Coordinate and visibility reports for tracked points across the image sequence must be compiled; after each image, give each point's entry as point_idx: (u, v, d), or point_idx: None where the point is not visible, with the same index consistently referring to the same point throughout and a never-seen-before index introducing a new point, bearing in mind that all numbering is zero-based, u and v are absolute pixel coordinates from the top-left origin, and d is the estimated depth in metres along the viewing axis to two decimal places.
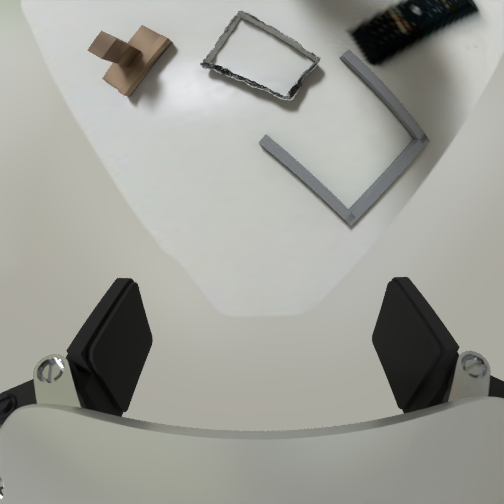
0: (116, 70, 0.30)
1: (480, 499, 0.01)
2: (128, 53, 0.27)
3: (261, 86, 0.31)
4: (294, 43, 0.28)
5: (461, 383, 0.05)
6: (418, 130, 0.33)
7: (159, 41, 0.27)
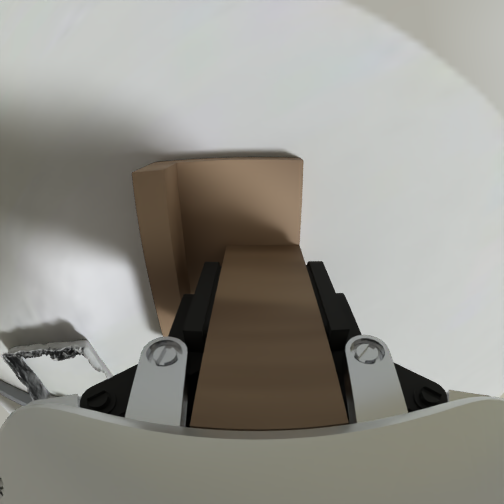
0: (264, 214, 0.11)
1: (480, 499, 0.01)
2: None
3: (18, 355, 0.15)
4: None
5: (360, 375, 0.06)
6: None
7: None
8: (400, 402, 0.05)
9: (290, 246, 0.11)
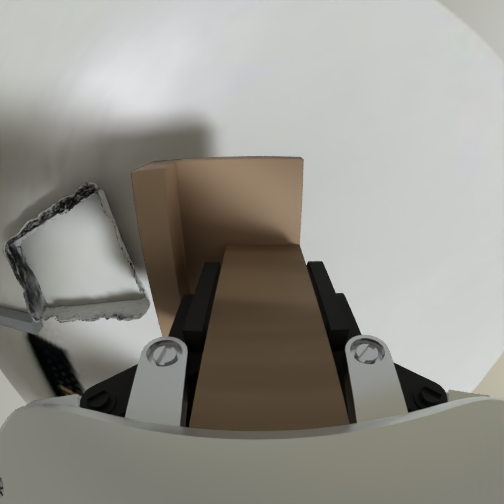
0: (264, 213, 0.11)
1: (480, 499, 0.01)
2: None
3: (24, 233, 0.16)
4: (66, 315, 0.20)
5: (360, 375, 0.06)
6: None
7: None
8: (400, 402, 0.05)
9: (290, 246, 0.11)
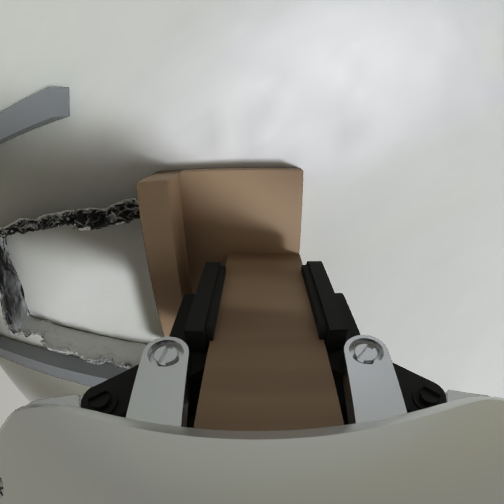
0: (265, 223, 0.11)
1: (480, 499, 0.01)
2: None
3: (12, 231, 0.10)
4: (55, 340, 0.14)
5: (359, 375, 0.06)
6: (1, 354, 0.16)
7: None
8: (399, 402, 0.05)
9: (290, 254, 0.12)
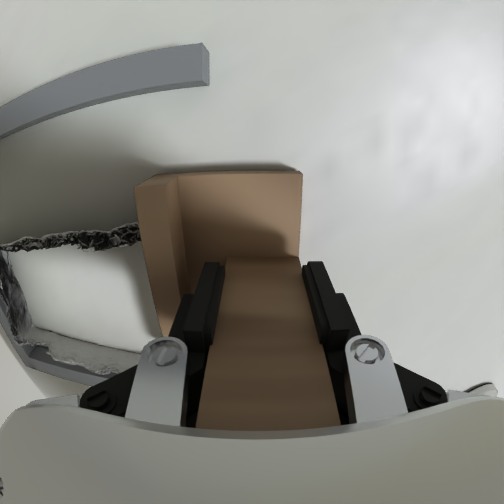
0: (264, 227, 0.11)
1: (480, 499, 0.01)
2: None
3: (16, 248, 0.11)
4: (60, 351, 0.15)
5: (360, 375, 0.06)
6: (41, 367, 0.16)
7: None
8: (400, 402, 0.05)
9: (289, 258, 0.12)
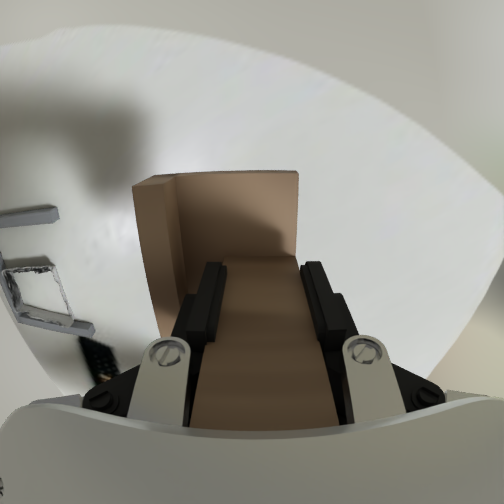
0: (261, 226, 0.11)
1: (480, 499, 0.01)
2: None
3: (15, 271, 0.29)
4: (33, 313, 0.33)
5: (358, 376, 0.06)
6: (24, 321, 0.34)
7: None
8: (397, 402, 0.05)
9: (286, 257, 0.12)
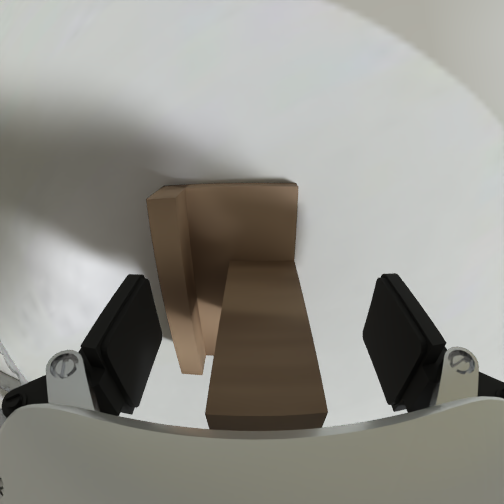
0: (263, 233, 0.12)
1: (480, 499, 0.01)
2: None
3: None
4: None
5: (449, 380, 0.05)
6: None
7: (190, 363, 0.14)
8: None
9: (286, 261, 0.13)
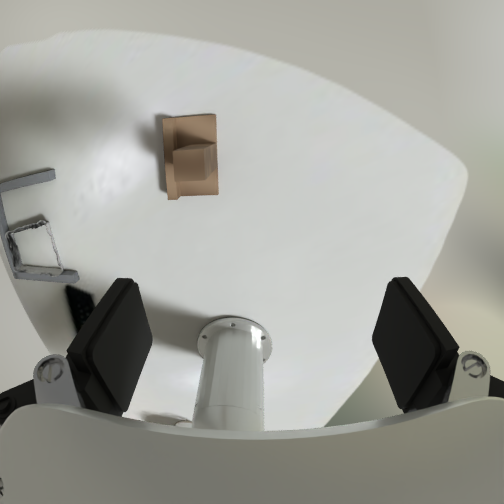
0: (203, 132, 0.30)
1: (480, 499, 0.01)
2: None
3: (16, 231, 0.35)
4: (29, 270, 0.39)
5: (461, 383, 0.05)
6: (20, 276, 0.39)
7: (172, 191, 0.32)
8: None
9: (212, 143, 0.31)
